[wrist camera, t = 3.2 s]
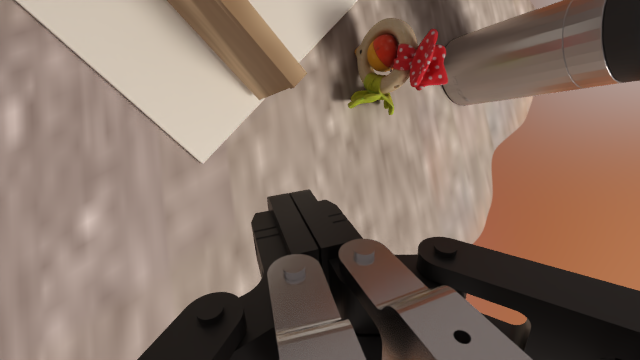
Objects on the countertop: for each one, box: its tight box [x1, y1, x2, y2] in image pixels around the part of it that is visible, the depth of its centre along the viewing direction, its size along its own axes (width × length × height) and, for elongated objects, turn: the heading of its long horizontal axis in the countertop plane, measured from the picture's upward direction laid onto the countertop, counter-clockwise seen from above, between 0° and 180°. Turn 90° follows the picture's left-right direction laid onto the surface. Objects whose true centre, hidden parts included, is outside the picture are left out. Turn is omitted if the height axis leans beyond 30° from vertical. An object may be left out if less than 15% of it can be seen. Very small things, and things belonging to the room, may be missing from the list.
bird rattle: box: [348, 18, 448, 115], centre depth 33 cm, size 6×11×9 cm
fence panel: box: [167, 0, 307, 100], centre depth 24 cm, size 2×13×8 cm, turn 46°
